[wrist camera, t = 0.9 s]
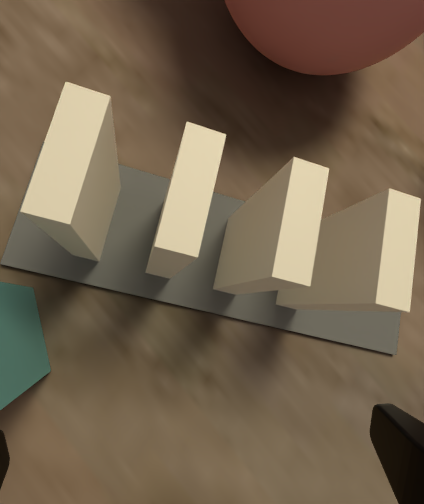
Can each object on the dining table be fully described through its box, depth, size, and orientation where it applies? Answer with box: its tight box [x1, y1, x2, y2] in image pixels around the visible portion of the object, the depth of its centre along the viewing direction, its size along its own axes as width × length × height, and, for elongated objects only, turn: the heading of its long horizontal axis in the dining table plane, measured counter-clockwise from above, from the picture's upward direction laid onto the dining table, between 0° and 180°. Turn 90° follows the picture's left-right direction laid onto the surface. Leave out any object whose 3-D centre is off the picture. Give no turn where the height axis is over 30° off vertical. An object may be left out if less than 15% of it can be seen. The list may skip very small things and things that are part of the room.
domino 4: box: [276, 188, 421, 312], centre depth 19 cm, size 2×5×10 cm, turn 168°
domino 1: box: [20, 82, 121, 261], centre depth 17 cm, size 2×5×10 cm, turn 167°
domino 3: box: [213, 157, 329, 295], centre depth 18 cm, size 2×5×10 cm, turn 167°
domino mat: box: [0, 142, 401, 355], centre depth 23 cm, size 8×27×1 cm, turn 77°
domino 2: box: [145, 122, 226, 279], centre depth 17 cm, size 2×5×10 cm, turn 167°
